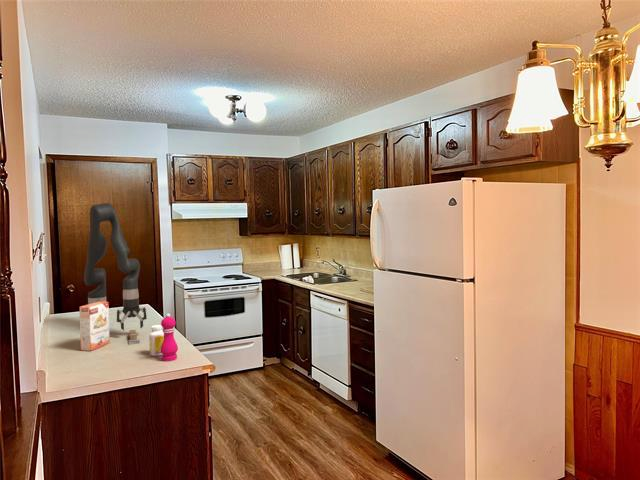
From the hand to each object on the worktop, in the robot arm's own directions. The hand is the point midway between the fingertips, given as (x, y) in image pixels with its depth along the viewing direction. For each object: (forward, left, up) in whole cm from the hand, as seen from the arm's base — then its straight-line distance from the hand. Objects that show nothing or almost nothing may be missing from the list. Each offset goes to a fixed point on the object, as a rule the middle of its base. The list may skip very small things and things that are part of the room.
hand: (132, 328), depth 244 cm
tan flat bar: (+5, 0, -5) cm, 7 cm away
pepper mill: (+47, +13, -5) cm, 50 cm away
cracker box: (+11, -17, -5) cm, 21 cm away
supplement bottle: (+37, +9, -5) cm, 39 cm away
